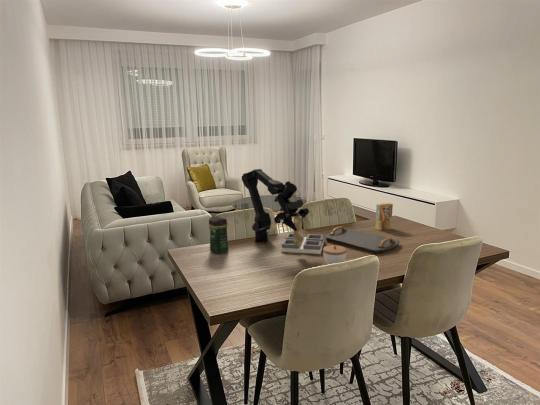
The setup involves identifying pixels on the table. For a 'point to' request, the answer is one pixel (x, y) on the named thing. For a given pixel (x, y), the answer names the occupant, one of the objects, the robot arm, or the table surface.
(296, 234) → the stool leg
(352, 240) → the serving board
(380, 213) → the candy box
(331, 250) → the lidded jar
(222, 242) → the coffee jar
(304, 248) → the grey compartment tray
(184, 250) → the table surface
